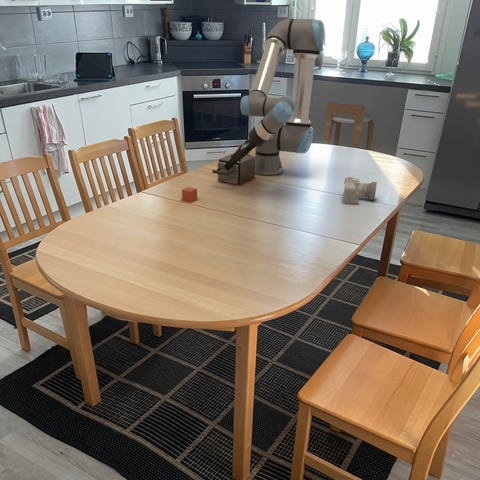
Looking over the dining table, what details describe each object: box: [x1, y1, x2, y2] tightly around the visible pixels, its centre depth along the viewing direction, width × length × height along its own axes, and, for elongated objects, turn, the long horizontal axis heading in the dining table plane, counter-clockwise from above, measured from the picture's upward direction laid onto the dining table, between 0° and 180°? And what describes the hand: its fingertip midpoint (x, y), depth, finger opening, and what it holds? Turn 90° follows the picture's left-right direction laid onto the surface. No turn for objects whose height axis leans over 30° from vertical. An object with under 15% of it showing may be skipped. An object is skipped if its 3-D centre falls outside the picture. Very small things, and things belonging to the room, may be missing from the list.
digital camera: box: [342, 176, 378, 205], centre depth 208 cm, size 17×14×10 cm
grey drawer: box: [211, 161, 239, 185], centre depth 223 cm, size 19×10×8 cm, turn 149°
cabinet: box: [218, 152, 255, 186], centre depth 227 cm, size 13×11×10 cm
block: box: [181, 186, 198, 203], centre depth 204 cm, size 4×4×4 cm
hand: (226, 168), depth 217 cm, fingers closed
